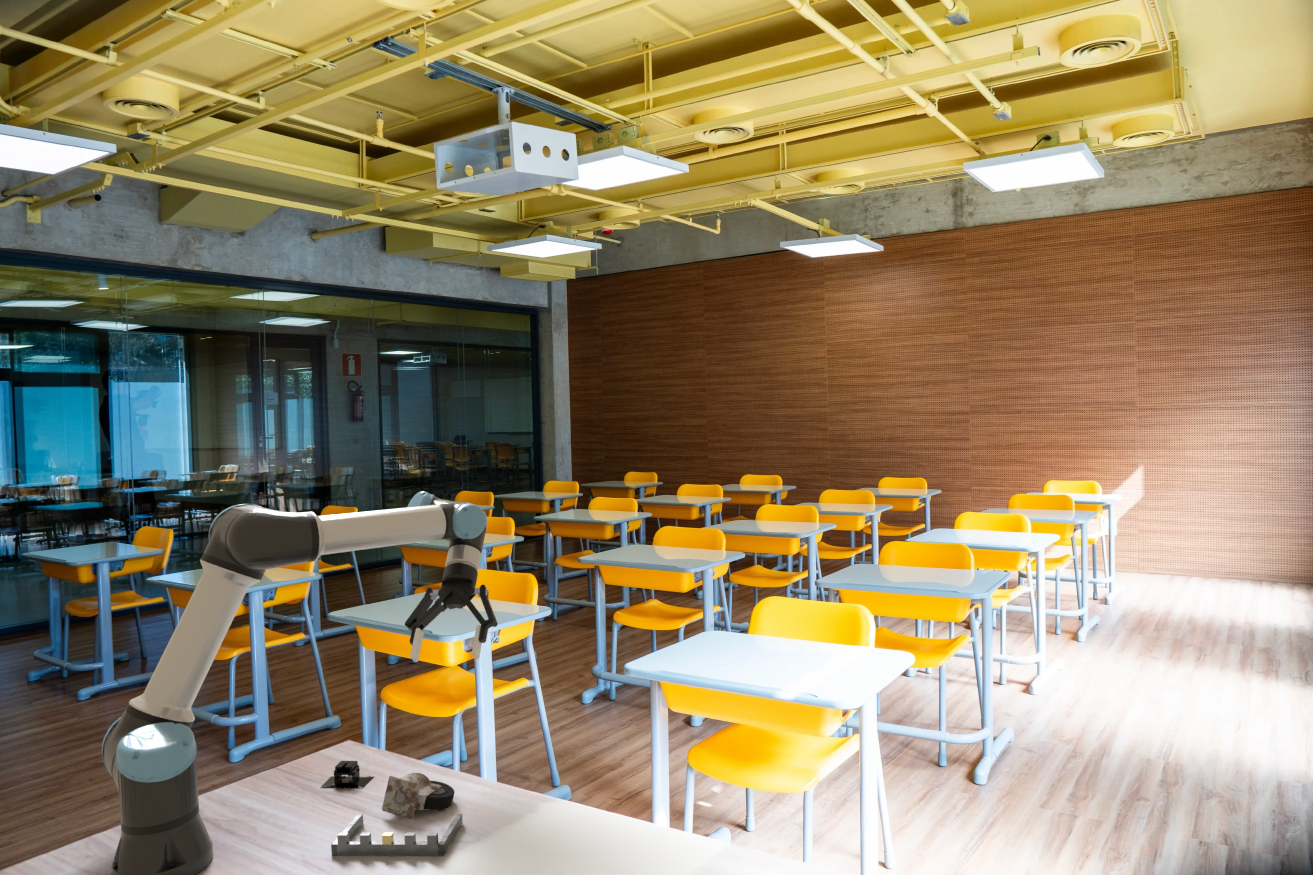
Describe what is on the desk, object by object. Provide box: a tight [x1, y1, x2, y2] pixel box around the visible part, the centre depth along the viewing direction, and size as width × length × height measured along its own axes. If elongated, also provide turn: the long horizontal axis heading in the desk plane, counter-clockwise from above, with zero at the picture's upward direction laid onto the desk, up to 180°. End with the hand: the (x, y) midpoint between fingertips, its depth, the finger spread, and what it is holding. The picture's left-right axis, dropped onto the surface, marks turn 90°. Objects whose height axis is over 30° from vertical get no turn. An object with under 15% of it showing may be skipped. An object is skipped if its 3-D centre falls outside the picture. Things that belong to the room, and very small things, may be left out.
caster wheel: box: [381, 772, 456, 821], centre depth 165 cm, size 7×11×10 cm
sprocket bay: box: [330, 813, 464, 857], centre depth 153 cm, size 20×11×4 cm, turn 86°
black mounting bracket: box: [319, 760, 375, 789], centre depth 177 cm, size 12×7×5 cm, turn 85°
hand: (444, 657), depth 179 cm, fingers open, 13 cm apart
